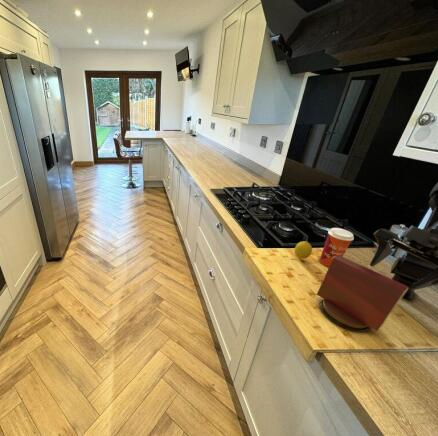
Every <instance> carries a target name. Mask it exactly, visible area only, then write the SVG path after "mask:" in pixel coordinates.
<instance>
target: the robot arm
mask: <svg viewBox="0 0 438 436" xmlns="http://www.w3.org/2000/svg"><path fill="white" fill-rule="evenodd" d="M428 197H429V198H430V199H429V201H428V206H429V207H430V210H431V212H430V215H429V217H428V219H427V221H426V223H425V224H424V226H423V228H419V227H418V226H414V225H412V224H411V225H410V226H409V228H407V230H406V231H405V232H404V233H403V234H402V237H403V238H406V242H405V241H402V240H401V239H400V237H399V235H398V233H395V232H393V231H391V230H389V229H387V228H379V229H377V230H375V232H374V233H373V236H374V238H375V241H376V243H377V244H378V245H377V249H376V252H375V254H374V255H373V257H372V260H371V261H370V263H369V266H370V267H372V268H373V267H375V266H376V265H378V264H379V263H381V262H382V261H384V260H385V259H386V258H387V257H389V256H390V255H392V254H393V253H394V251H393V250H396V249H399V250H401V251H404V252H405V253H404V254H403V255H402V256H399V257H397V259H395V261H394V262H393V264H392V265H391V267H390V268H391V269H390V273H391V274H394V275H393V276H392V278H391V279H393V280H395V281H397V282H399V283H401V284H404V285H406V286H408V290H407V291H406V293H405V294H404V296H403V297H402V298H404V299H407V300H408V301H412V300H413V296H414V294H415V291H416V290H421V289H425V288H429V287H434V286H438V182H437V183H436V184H435V185H434V186H433V187H432V189H431V191H430V193H429V196H428ZM407 242H408V243H407Z"/></svg>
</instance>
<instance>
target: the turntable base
mask: <svg viewBox="0 0 438 436" xmlns="http://www.w3.org/2000/svg"><path fill="white" fill-rule="evenodd" d="M323 300H324V299H322V300H321V302H320V304H319V308H320V311H321V312H322V314H323V315H324V316H325V317H326V318H327V319H328V320H329V321H330V322H332V323H333V324H335V325H336V326H338V327H340V328H342V329H345V330H347V331H351V332H356V333H364V332H367V331H368V330H369V329H370V327H369V326H368V327H366V328H362V329H359V328H353V327H349V326H347V325H344V324H342V323H340V322H338V321H337V320H335V319H334V318H332V317H331V316H330V315H329V314H328V313H327V312H326V311H325V310H324V308H323V304H322V303H323Z"/></svg>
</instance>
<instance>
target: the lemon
mask: <svg viewBox="0 0 438 436" xmlns="http://www.w3.org/2000/svg"><path fill="white" fill-rule="evenodd" d="M312 251H313V247H312V245H311V244H310V243H309V242H308V241H306V240H305V241H304V240H303V241H299V242H298V243H297V244H296V245H295V246H294V254H295V256H296V257H297V259H299V260H302V259H303V260H305V259H307V258H309V257H310V256H311V254H312Z"/></svg>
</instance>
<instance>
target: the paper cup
mask: <svg viewBox="0 0 438 436" xmlns="http://www.w3.org/2000/svg"><path fill="white" fill-rule="evenodd" d="M327 233H328V234H327V236H326V240H325V243H324V246H323V249H322V252H321V255H320V257H319V258H320V259H319V263H320V264H322V265H323V266H324V267H327V268H329V267H330V264H331V262H332V260H333V258H334V257H336V256H338V255H340V256H342V257H344V255H345V253H346V252H347V249H348V248H349V247H350V244H351V243H352V241H354V239H355V237H354V233H352V232H351V231H349V230H347V229H344V228H340V227H331V228H330V230H328V231H327Z"/></svg>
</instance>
